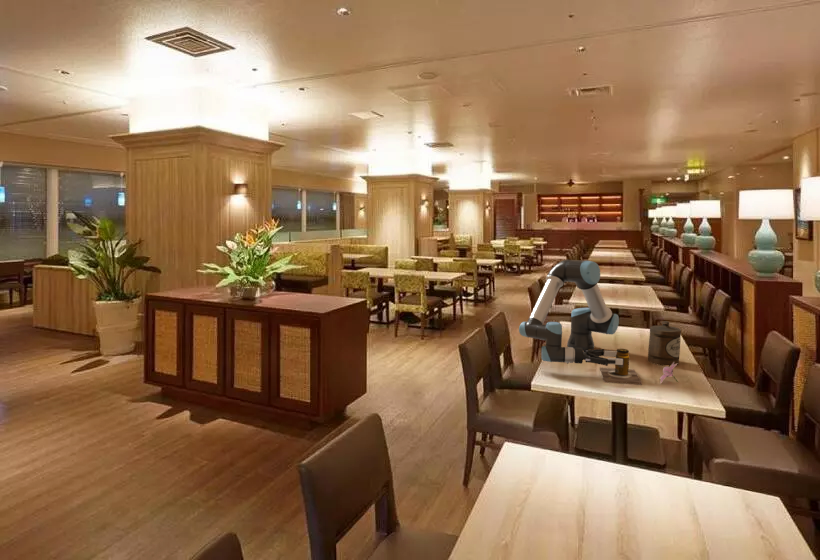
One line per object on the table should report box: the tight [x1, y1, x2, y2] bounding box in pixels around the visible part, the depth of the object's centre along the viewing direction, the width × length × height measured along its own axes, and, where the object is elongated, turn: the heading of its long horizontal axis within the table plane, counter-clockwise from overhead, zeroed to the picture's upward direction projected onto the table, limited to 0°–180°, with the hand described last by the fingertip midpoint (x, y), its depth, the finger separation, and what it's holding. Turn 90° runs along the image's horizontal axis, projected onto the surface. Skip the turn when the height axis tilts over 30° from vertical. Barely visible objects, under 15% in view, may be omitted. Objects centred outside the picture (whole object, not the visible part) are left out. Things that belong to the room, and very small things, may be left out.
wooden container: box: [647, 320, 682, 367], centre depth 273 cm, size 15×15×22 cm
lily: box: [659, 363, 679, 385], centre depth 241 cm, size 12×12×10 cm
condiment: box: [609, 348, 632, 378], centre depth 248 cm, size 7×8×12 cm
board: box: [599, 366, 643, 386], centre depth 249 cm, size 20×16×1 cm
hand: (620, 358), depth 248 cm, fingers open, 13 cm apart
